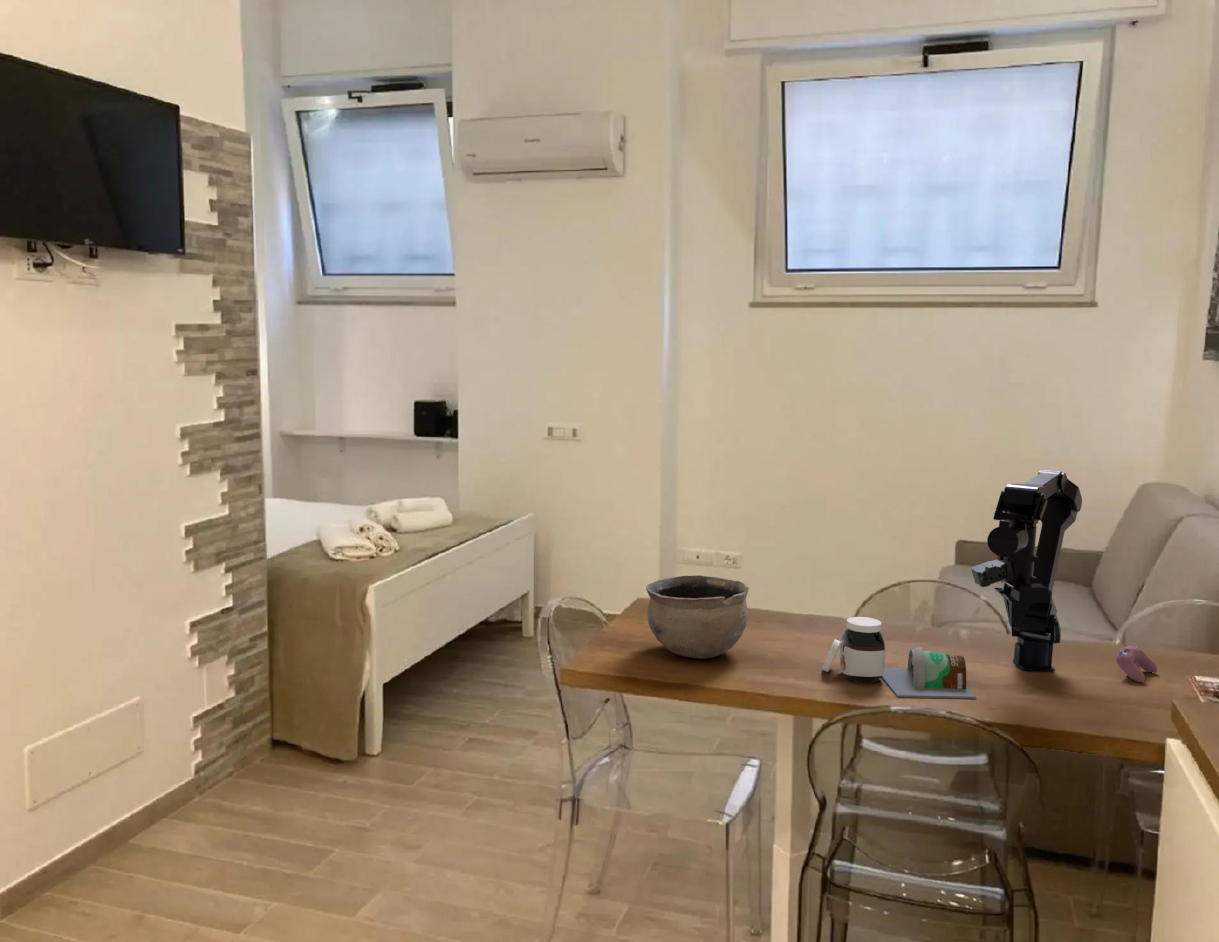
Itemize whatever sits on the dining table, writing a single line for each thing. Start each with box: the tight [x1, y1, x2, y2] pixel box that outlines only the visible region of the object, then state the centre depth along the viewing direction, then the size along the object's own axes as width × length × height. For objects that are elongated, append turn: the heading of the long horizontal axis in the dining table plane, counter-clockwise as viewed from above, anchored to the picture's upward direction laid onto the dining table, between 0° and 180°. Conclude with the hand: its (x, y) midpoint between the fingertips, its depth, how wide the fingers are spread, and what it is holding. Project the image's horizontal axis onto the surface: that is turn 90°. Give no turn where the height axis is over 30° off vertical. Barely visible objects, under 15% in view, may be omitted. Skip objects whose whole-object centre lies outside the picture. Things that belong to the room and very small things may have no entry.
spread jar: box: [821, 616, 886, 684], centre depth 197 cm, size 12×11×12 cm
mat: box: [881, 667, 977, 700], centre depth 194 cm, size 15×16×1 cm
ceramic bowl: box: [645, 575, 750, 659], centre depth 210 cm, size 22×22×15 cm
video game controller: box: [1116, 645, 1158, 683], centre depth 201 cm, size 10×5×7 cm, turn 135°
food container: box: [907, 646, 967, 689], centre depth 195 cm, size 12×6×10 cm
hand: (1013, 626), depth 192 cm, fingers closed
